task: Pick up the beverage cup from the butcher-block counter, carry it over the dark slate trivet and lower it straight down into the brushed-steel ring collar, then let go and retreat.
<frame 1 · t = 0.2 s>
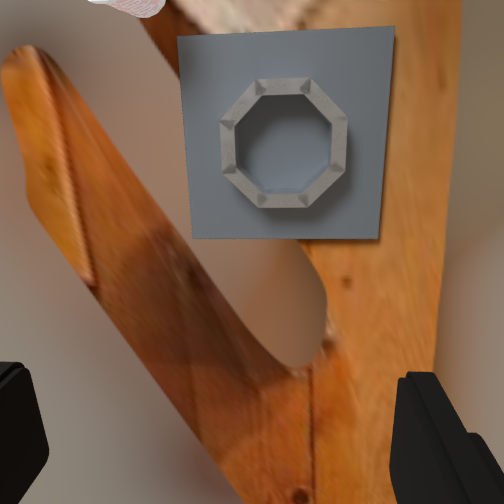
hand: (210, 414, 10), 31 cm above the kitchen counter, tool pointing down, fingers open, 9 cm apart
slate trivet: (283, 142, 37), on the kitchen counter
steel collar: (283, 144, 35), on the slate trivet, point 3 cm above the kitchen counter
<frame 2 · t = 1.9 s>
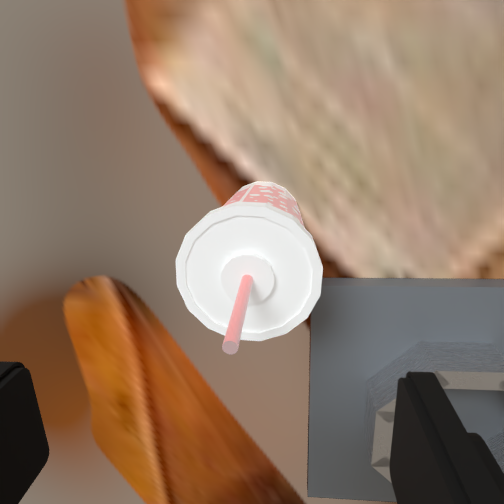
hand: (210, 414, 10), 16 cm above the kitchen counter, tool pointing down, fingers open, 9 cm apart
slate trivet: (438, 396, 28), on the kitchen counter
beverage cup: (263, 217, 25), on the kitchen counter
steel collar: (452, 425, 26), on the slate trivet, point 3 cm above the kitchen counter
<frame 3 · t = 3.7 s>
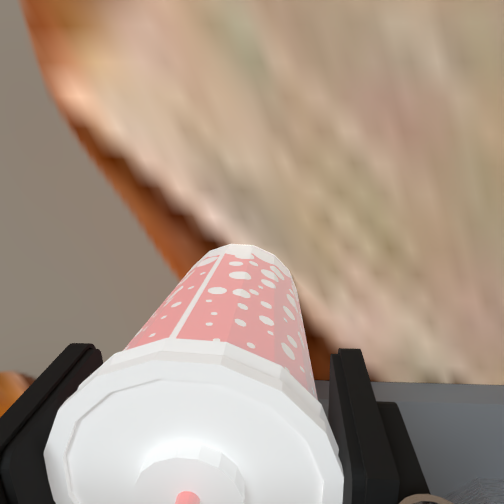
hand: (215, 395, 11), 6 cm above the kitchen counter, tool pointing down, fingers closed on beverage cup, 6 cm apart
beverage cup: (241, 294, 17), on the kitchen counter, touching gripper
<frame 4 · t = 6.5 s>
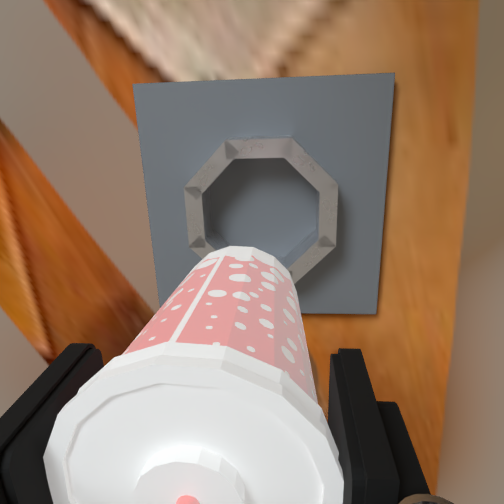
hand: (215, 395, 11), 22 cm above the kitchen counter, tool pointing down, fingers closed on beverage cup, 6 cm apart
slate trivet: (263, 203, 32), on the kitchen counter
beverage cup: (241, 296, 17), point 16 cm above the kitchen counter, touching gripper
steel collar: (261, 212, 29), on the slate trivet, point 3 cm above the kitchen counter
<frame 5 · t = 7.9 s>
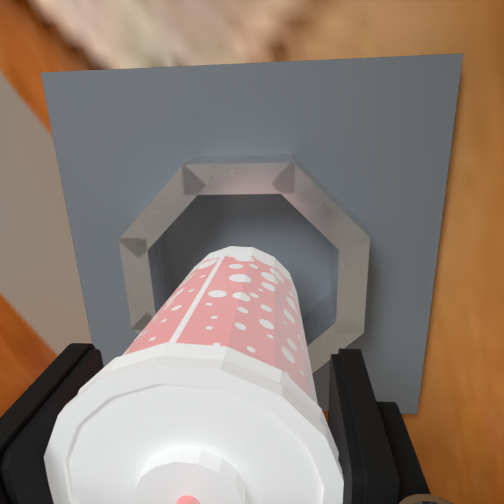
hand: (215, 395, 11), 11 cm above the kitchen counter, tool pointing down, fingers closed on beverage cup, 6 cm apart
slate trivet: (251, 253, 21), on the kitchen counter
beverage cup: (241, 296, 17), point 5 cm above the kitchen counter, touching gripper
steel collar: (246, 273, 19), on the slate trivet, point 3 cm above the kitchen counter
when the fingers open (9 cm above the kitchen counter, at t = 9.2 s): beverage cup drops 1 cm, resting on slate trivet.
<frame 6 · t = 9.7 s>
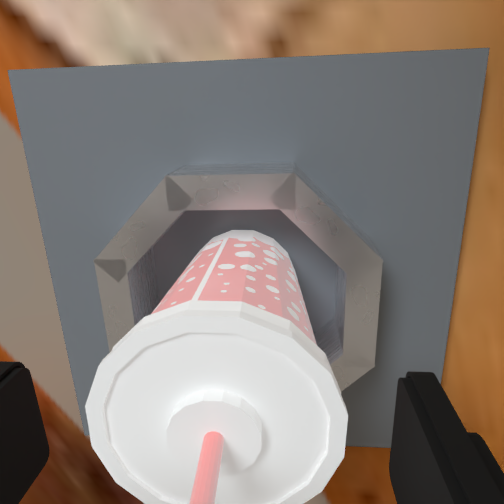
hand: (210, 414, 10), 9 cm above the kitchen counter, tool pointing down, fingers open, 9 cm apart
slate trivet: (247, 272, 19), on the kitchen counter
beverage cup: (243, 277, 18), point 1 cm above the kitchen counter, touching slate trivet
steel collar: (240, 296, 17), on the slate trivet, point 3 cm above the kitchen counter
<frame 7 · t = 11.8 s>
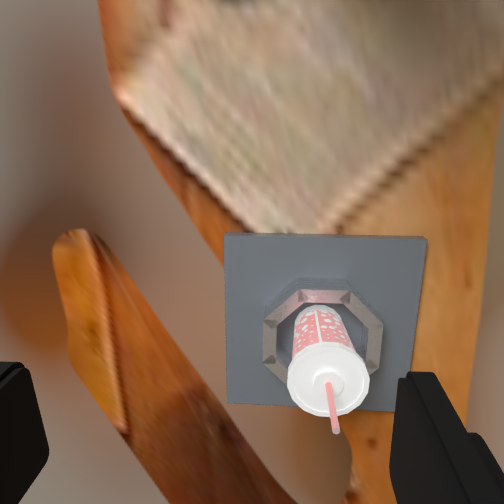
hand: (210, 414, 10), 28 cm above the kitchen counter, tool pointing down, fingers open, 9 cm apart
slate trivet: (317, 322, 40), on the kitchen counter
beverage cup: (318, 325, 39), point 1 cm above the kitchen counter, touching slate trivet
steel collar: (319, 336, 37), on the slate trivet, point 3 cm above the kitchen counter
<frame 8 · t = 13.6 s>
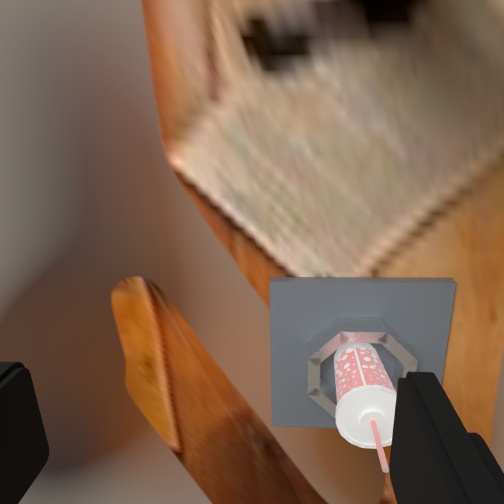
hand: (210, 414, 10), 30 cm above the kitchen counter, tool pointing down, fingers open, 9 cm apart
slate trivet: (354, 354, 44), on the kitchen counter
beverage cup: (355, 358, 43), point 1 cm above the kitchen counter, touching slate trivet
steel collar: (358, 369, 41), on the slate trivet, point 3 cm above the kitchen counter
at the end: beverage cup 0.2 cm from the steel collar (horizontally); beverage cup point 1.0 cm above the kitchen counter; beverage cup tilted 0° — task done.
